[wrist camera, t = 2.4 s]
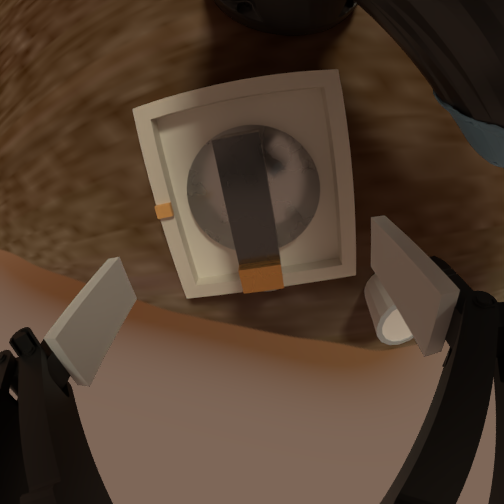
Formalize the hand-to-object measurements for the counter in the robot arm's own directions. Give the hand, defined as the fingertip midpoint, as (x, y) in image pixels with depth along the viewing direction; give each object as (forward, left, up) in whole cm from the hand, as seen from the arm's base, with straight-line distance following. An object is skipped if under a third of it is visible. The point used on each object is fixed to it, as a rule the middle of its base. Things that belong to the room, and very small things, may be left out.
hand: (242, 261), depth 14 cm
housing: (0, 0, -16) cm, 16 cm away
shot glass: (+15, +14, -16) cm, 26 cm away
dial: (0, 0, -13) cm, 13 cm away
